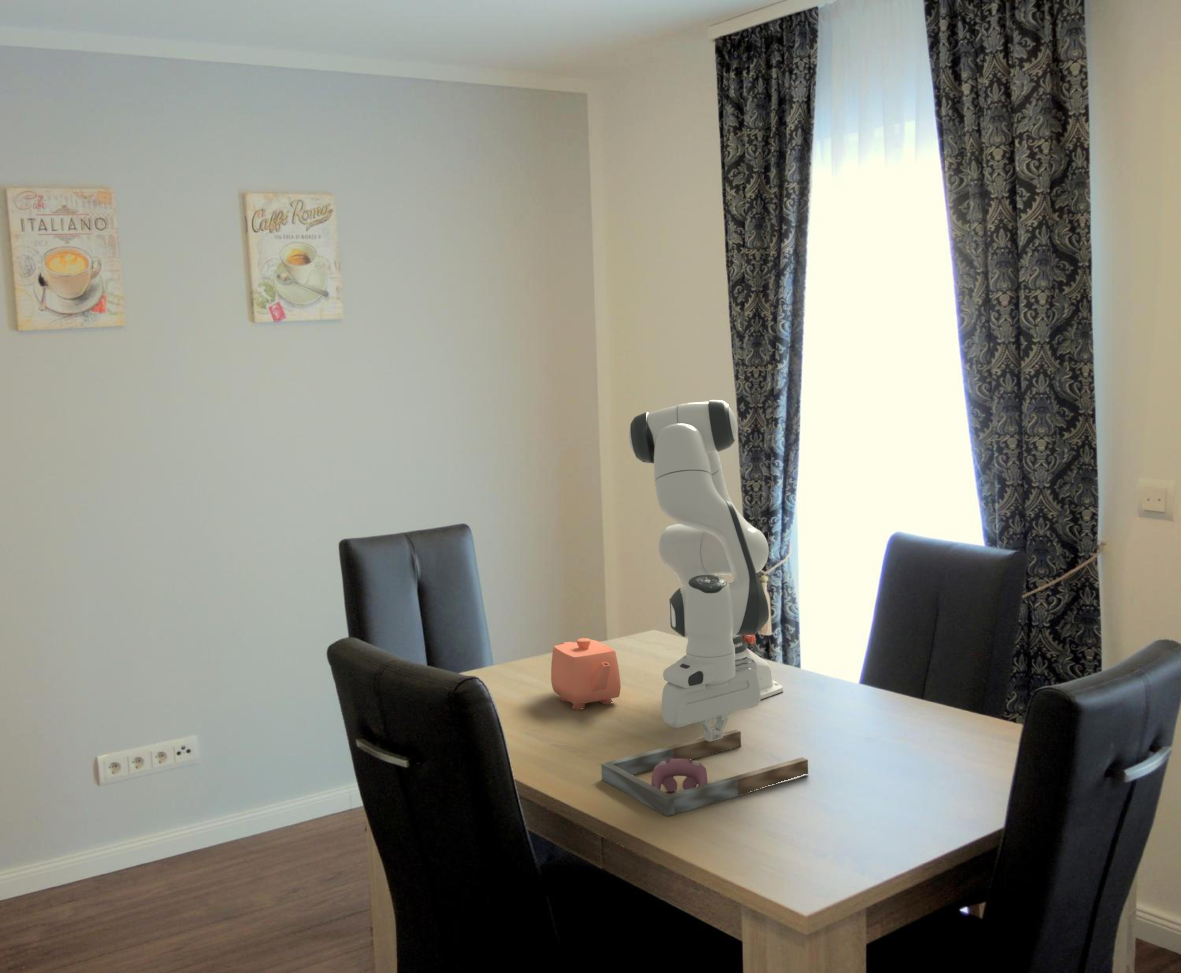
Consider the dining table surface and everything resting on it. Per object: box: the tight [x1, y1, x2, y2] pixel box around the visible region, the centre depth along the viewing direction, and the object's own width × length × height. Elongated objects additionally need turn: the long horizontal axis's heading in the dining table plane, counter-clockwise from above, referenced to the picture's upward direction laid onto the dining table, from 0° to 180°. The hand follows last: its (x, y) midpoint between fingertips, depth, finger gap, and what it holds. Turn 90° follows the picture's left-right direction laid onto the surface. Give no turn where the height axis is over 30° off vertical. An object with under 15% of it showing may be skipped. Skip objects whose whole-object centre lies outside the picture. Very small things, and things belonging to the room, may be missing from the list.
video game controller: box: [650, 759, 709, 793], centre depth 203 cm, size 10×5×7 cm, turn 84°
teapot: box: [550, 637, 621, 710], centre depth 258 cm, size 22×13×14 cm, turn 25°
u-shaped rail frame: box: [600, 729, 809, 817], centre depth 210 cm, size 31×21×3 cm
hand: (713, 739), depth 210 cm, fingers closed
